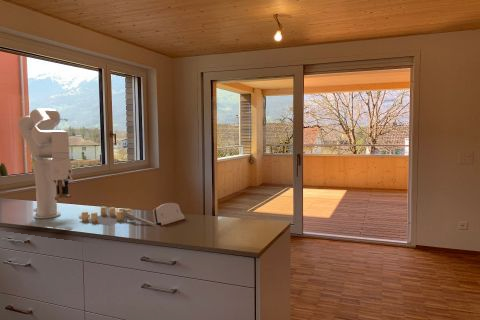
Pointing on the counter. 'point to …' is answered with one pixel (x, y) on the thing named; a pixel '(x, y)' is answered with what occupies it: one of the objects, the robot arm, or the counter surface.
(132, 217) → the caliper
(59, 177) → the robot arm
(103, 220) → the spacer jig
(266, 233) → the counter surface
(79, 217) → the nut
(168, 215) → the beige flat slab
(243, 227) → the counter surface
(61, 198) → the brown inverted t block
